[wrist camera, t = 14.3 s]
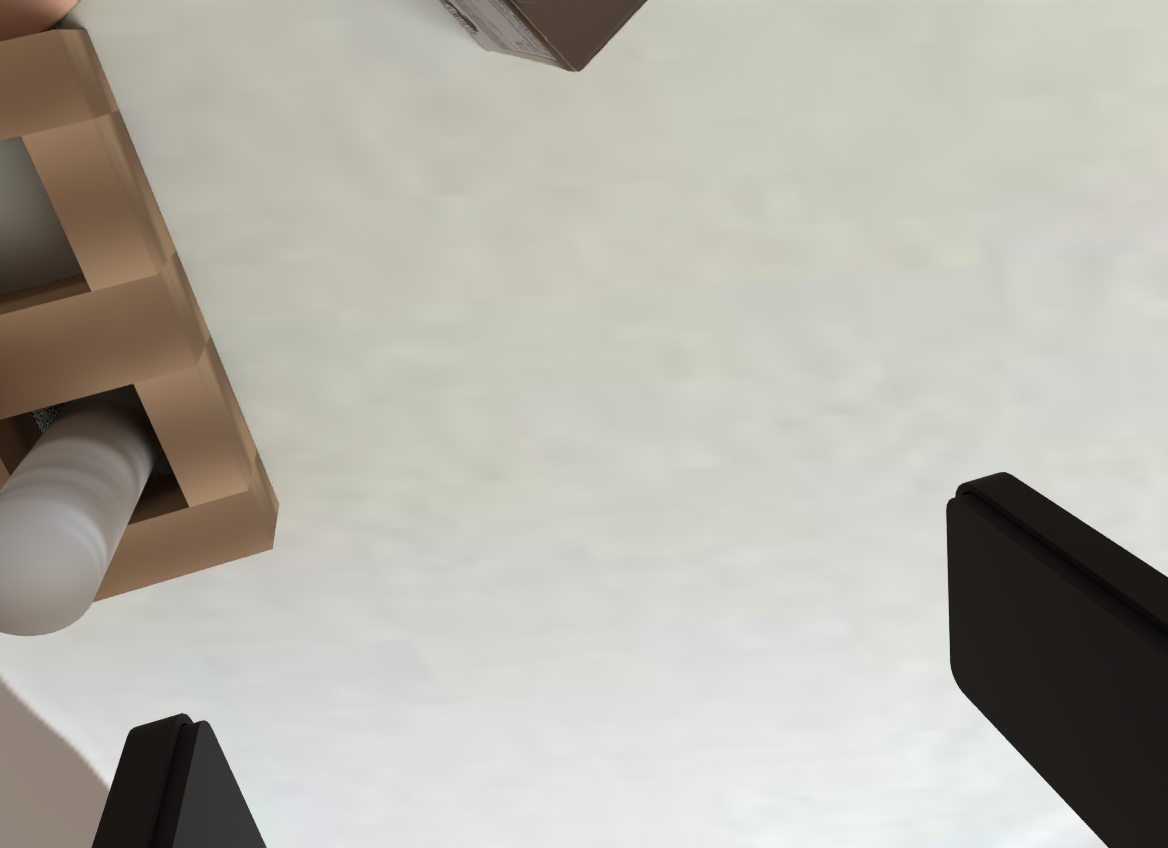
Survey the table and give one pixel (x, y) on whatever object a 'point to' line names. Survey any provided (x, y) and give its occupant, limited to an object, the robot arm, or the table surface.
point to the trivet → (31, 16)
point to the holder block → (108, 373)
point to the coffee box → (544, 27)
